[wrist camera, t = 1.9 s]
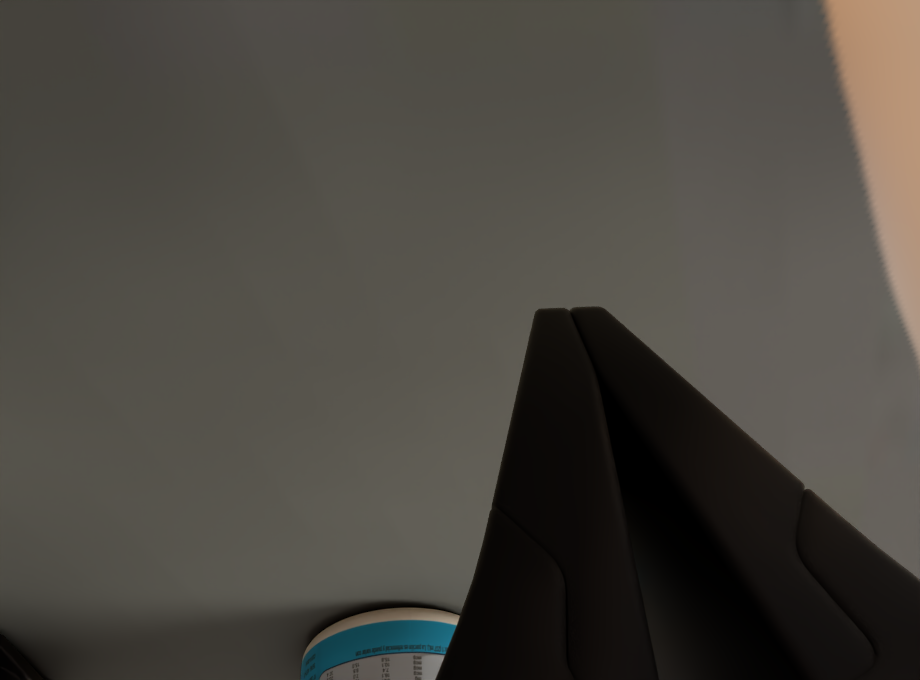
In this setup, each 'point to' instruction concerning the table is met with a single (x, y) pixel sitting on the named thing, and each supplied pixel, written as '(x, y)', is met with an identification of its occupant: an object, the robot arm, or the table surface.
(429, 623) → the beverage bottle
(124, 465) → the table surface
